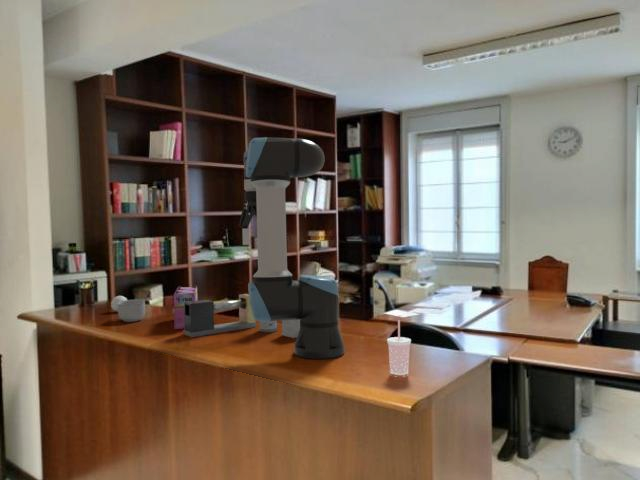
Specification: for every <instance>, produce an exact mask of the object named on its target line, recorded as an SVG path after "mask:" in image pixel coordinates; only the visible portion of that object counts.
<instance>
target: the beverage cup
mask: <svg viewBox="0 0 640 480" xmlns="http://www.w3.org/2000/svg"><path fill="white" fill-rule="evenodd" d="M386 340H387V342H386V343H387V345H388V357H389V374H390V373H391V374H395V375H405V374H408V375H409V366H410V365H409V364H410V348H411V344H412V339H411V338H409V337H404V336H401V320H400V319H398V320H397V336H394V337H391V336H390V337H388V338H387V339H386ZM391 374H390V375H391Z"/></svg>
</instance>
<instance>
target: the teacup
mask: <svg viewBox="0 0 640 480" xmlns="http://www.w3.org/2000/svg"><path fill="white" fill-rule="evenodd" d="M117 306H118V312H117V314H118V318H119V319H120V320H122V321H123V322H126V323H133V322H138V321H141V320H142V319H143V318H144V316H145V314H146V300H145V299H139V298H137V299H136V298H135V299H127V300H126V301H125V300H124V301H121V302H118V303H117Z"/></svg>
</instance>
